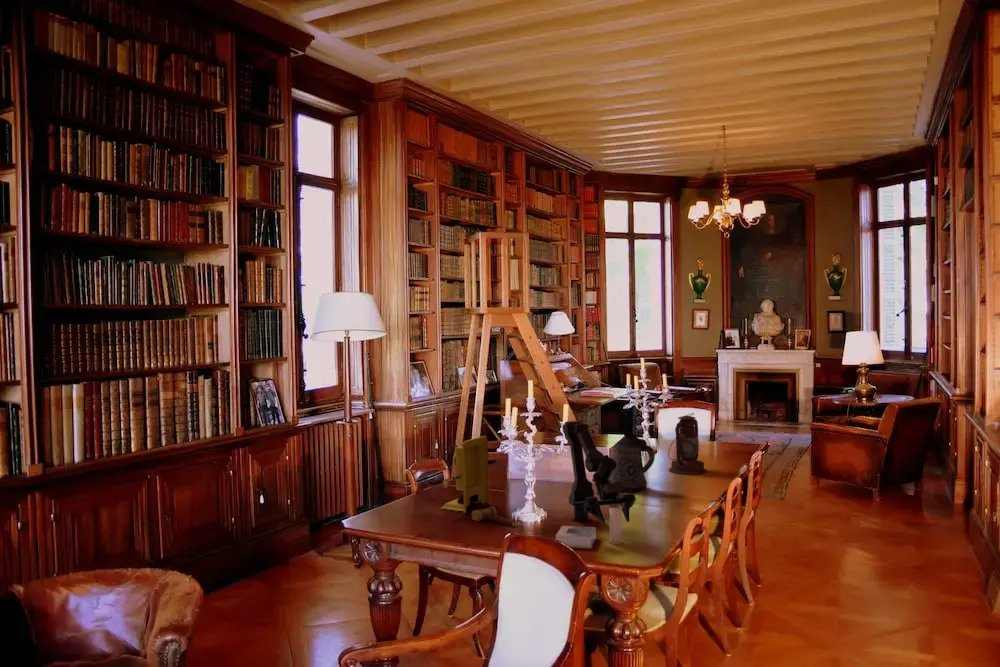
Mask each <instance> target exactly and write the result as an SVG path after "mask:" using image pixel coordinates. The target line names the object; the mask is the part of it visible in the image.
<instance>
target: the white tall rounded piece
mask: <svg viewBox="0 0 1000 667" xmlns="http://www.w3.org/2000/svg"><path fill="white" fill-rule="evenodd" d="M622 508H623V507H621V506H615V505H614V506H609V509H608V512H609V514H608V515H609V517H608V518H609V544H611V545H615V546H617V545H618V546H619V545H622V544H623V511H622Z"/></svg>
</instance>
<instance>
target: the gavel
mask: <svg viewBox="0 0 1000 667" xmlns="http://www.w3.org/2000/svg"><path fill="white" fill-rule="evenodd" d="M497 510H498V509H496V507H495V506H488V507H486V508H483V509H476V510H472V512H471V519H472V521H473V520H477V521H478V522H481V521H483V520H482V519H484V520H487V519H486V518H488V519H489V520H490V521H492V522H495V523H498V524H500V523H501V525H503V524H504V525H503V526H506V525H507V527H510V526H512V527H511V528H515V527H518V526H517V524H516V523H515V521H513V520H511V519H508V518H505V517H503V516H500V515H498V512H497ZM480 520H481V521H480ZM514 526H515V527H514Z"/></svg>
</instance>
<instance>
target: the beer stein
mask: <svg viewBox="0 0 1000 667" xmlns="http://www.w3.org/2000/svg"><path fill="white" fill-rule="evenodd" d="M615 450H616V457H615V462H616V464H617V465H616V468H615V470H614V472H613V474H612V477H611V479H610V482H611V483H616V482H618V481H623V484H624V489H623V490H620V492H619V493H623V494H631V493H632V494H635V493H636V494H637V493H642V492H644V491H646V490H647V486H648V481H647V478H646V475H645V473H646V472H647V471H649V469H650V468H651V467H652V466H653V464H654V463H655V458H656V455H655V452H654V451H655V450H654V448H653V447H652V446H650V445H648V443H647V441H646V440H645V439H644V438H639V437H637V435H635V434H625V435H624V436H623V437H622V438H621V439H620V440H619V441H618V442H616V444H615ZM643 452H645V453H647V454H648V456H649V459H648V460H647V463H646V464H645V465H643V459H642V453H643Z"/></svg>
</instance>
